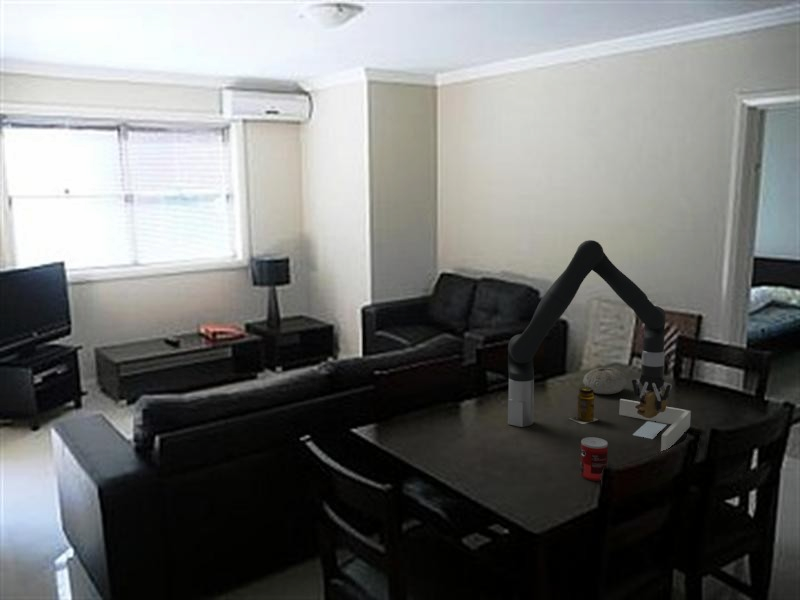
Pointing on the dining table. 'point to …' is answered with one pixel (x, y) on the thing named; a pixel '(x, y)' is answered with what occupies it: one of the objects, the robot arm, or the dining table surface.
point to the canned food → (593, 457)
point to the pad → (649, 429)
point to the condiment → (585, 406)
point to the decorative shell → (605, 380)
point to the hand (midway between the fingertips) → (650, 408)
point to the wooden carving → (650, 405)
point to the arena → (661, 420)
